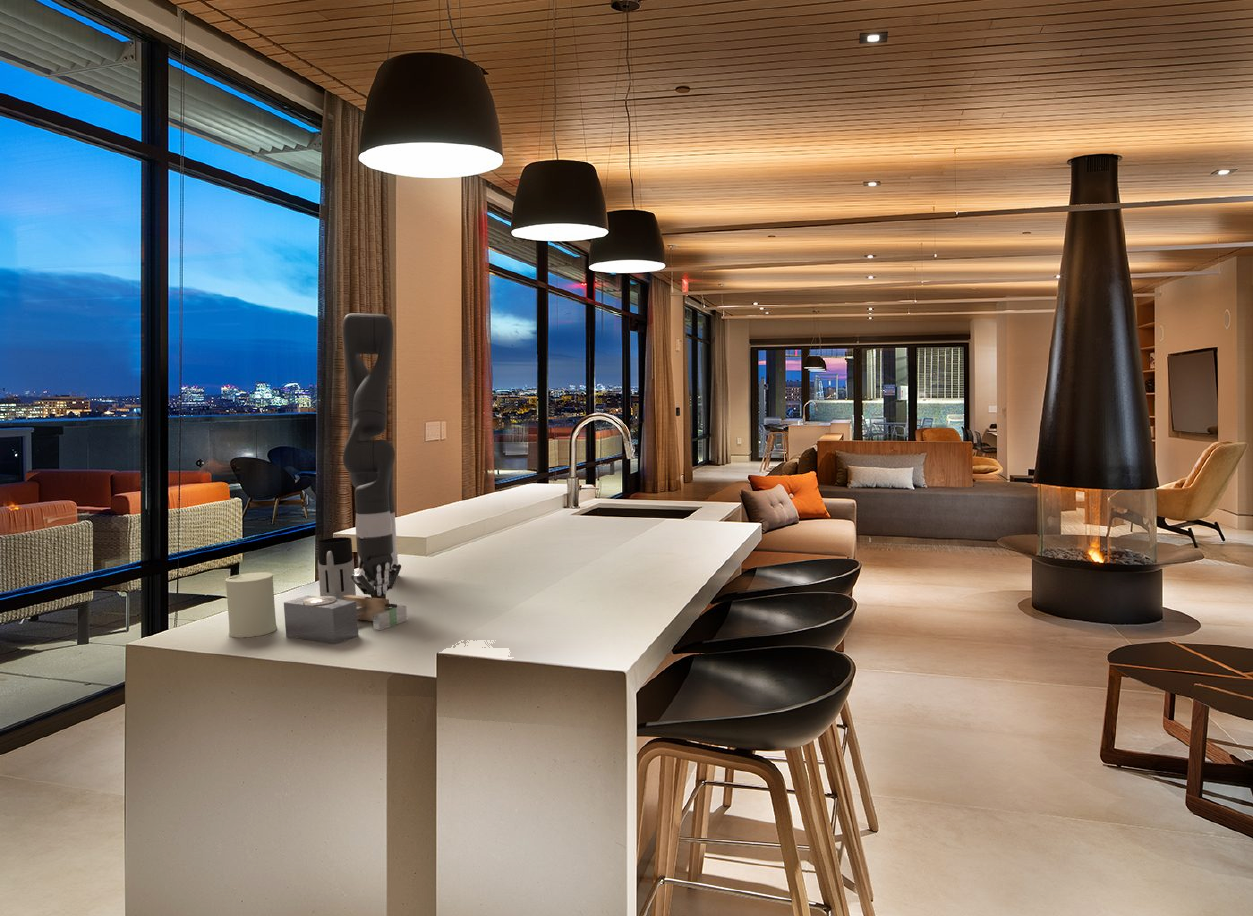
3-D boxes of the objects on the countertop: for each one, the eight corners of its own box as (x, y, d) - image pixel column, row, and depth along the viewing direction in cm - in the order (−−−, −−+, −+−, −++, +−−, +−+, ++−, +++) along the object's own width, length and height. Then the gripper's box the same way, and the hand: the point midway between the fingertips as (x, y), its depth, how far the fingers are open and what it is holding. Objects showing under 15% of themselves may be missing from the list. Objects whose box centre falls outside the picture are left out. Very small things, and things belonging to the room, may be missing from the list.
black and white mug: (360, 597, 204) (356, 535, 203) (352, 612, 191) (347, 546, 189) (322, 600, 203) (318, 538, 202) (311, 615, 189) (306, 548, 188)
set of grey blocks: (285, 636, 173) (282, 600, 173) (355, 613, 189) (353, 580, 189) (338, 644, 166) (336, 607, 165) (407, 620, 182) (405, 586, 181)
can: (238, 626, 182) (234, 571, 181) (283, 624, 183) (279, 568, 182) (221, 639, 173) (217, 580, 172) (268, 636, 174) (264, 578, 173)
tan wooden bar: (329, 621, 182) (327, 600, 181) (349, 615, 187) (348, 594, 186) (380, 629, 175) (379, 606, 174) (400, 621, 179) (398, 600, 179)
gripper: (383, 527, 192) (388, 603, 193) (338, 537, 180) (343, 617, 182) (409, 528, 188) (413, 605, 190) (364, 538, 177) (369, 621, 178)
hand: (379, 611), depth 186 cm, fingers closed
